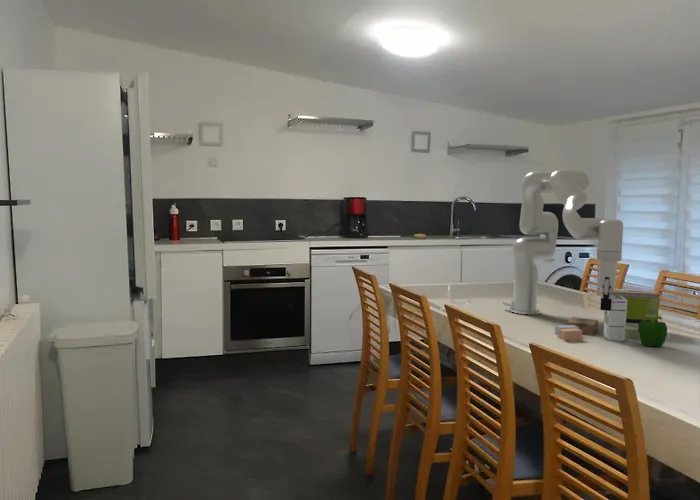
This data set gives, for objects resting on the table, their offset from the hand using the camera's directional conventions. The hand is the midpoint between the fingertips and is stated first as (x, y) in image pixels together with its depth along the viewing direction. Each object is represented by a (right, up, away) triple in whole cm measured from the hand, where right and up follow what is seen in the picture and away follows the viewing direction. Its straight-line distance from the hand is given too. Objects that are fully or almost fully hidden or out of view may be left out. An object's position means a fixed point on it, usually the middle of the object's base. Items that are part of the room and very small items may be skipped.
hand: (606, 308), depth 191 cm
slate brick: (-12, -10, +5) cm, 16 cm away
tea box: (+16, -10, +15) cm, 24 cm away
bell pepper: (+11, -12, -7) cm, 18 cm away
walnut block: (-3, -10, +13) cm, 16 cm away
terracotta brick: (-13, -11, 0) cm, 17 cm away
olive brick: (+10, -11, +5) cm, 15 cm away
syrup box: (+3, -11, +1) cm, 11 cm away
